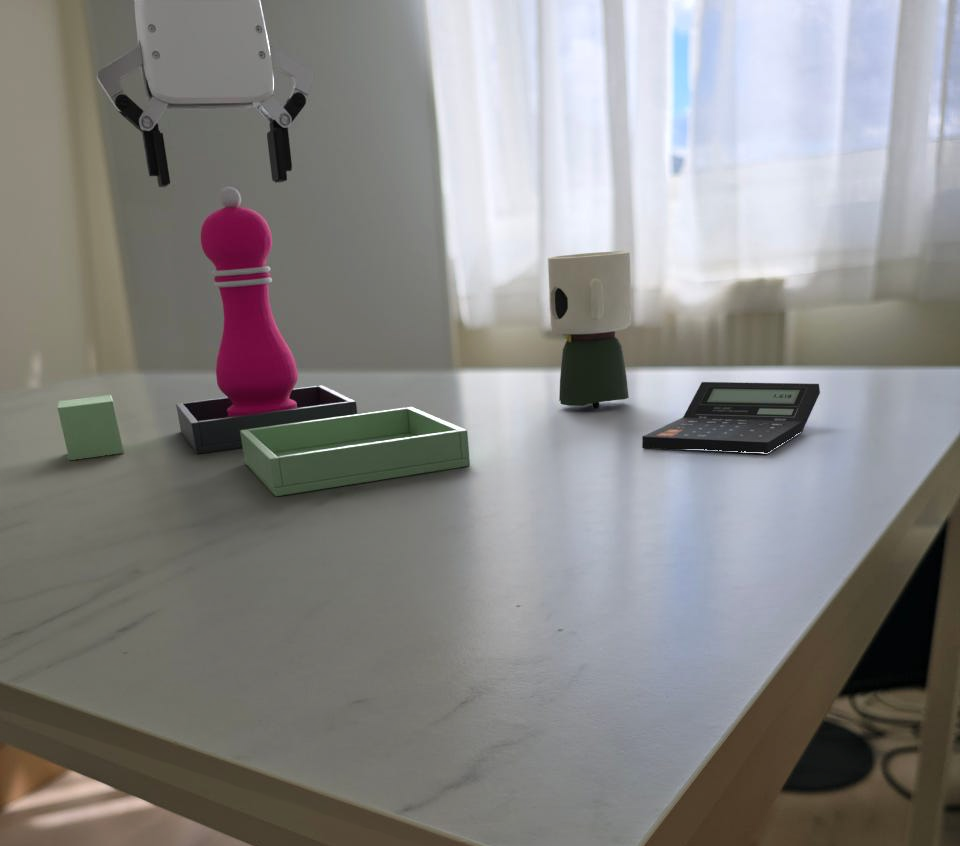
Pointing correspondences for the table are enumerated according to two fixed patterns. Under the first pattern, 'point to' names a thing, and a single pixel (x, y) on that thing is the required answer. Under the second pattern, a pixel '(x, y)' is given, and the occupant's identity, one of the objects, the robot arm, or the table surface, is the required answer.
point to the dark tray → (254, 417)
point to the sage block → (90, 427)
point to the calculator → (739, 417)
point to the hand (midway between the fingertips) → (223, 183)
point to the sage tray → (353, 449)
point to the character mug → (591, 324)
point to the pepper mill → (247, 311)
